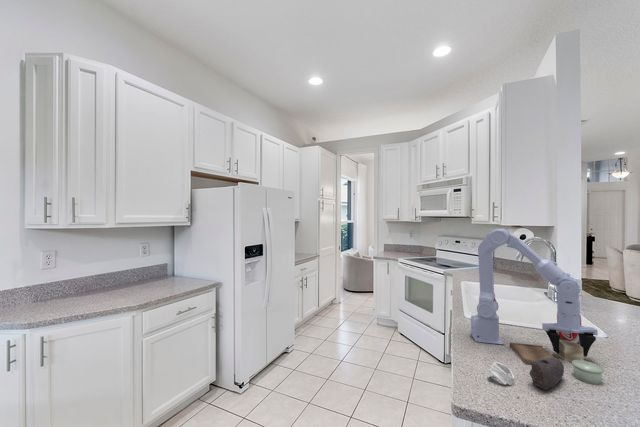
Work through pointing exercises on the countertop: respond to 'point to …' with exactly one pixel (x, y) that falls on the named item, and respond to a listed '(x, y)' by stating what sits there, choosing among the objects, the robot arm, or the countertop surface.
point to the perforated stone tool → (546, 372)
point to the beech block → (570, 350)
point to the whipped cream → (501, 373)
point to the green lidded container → (587, 371)
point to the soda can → (569, 334)
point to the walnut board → (530, 352)
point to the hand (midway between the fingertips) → (569, 353)
